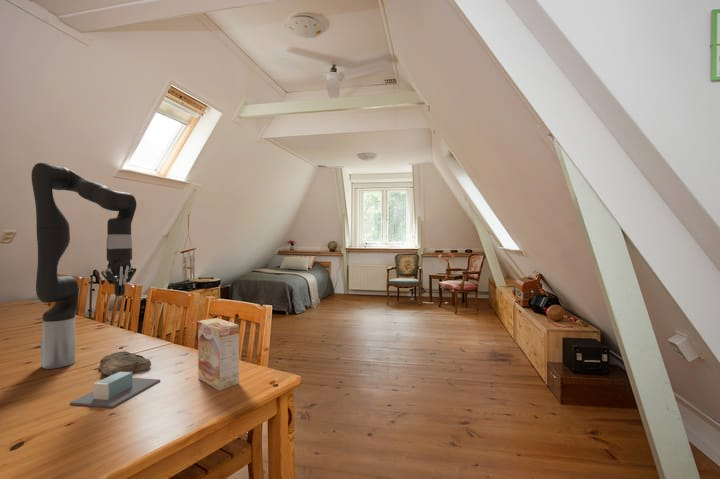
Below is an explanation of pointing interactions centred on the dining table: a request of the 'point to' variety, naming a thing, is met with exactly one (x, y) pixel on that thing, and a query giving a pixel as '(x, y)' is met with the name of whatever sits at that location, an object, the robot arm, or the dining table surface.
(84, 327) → the dining table surface
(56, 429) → the dining table surface
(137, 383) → the mat
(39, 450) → the dining table surface
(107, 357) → the clay tablet
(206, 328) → the coffeecake box
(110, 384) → the block
